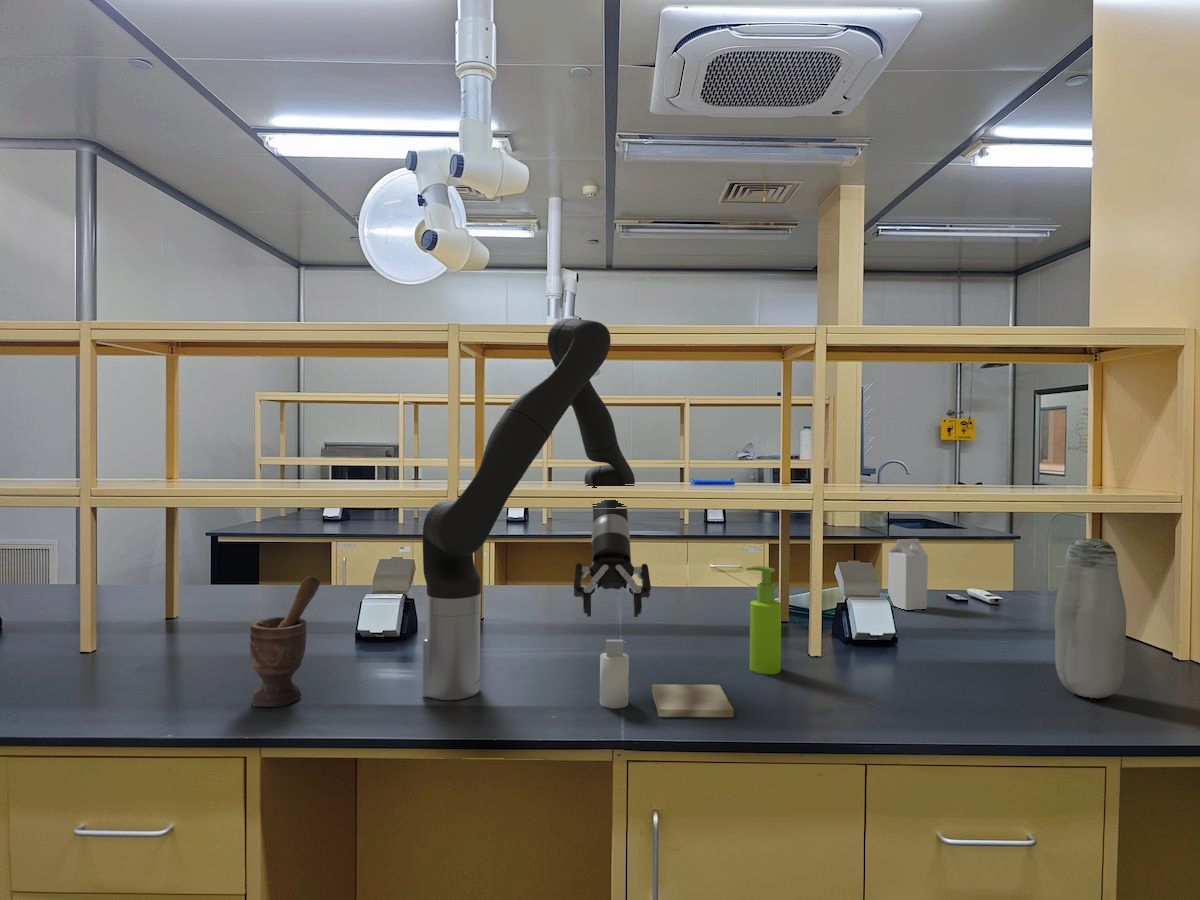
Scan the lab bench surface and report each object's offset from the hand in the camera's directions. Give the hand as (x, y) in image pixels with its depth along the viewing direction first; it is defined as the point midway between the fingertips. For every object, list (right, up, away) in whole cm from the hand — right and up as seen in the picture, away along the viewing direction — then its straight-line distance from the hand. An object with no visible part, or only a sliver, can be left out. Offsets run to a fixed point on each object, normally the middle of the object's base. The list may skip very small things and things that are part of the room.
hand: (612, 614), depth 128 cm
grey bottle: (+85, -14, -2) cm, 86 cm away
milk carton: (+82, -14, +67) cm, 107 cm away
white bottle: (0, -13, -9) cm, 16 cm away
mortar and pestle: (-56, -12, -8) cm, 58 cm away
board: (+13, -13, -8) cm, 20 cm away
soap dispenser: (+30, -13, +11) cm, 34 cm away
